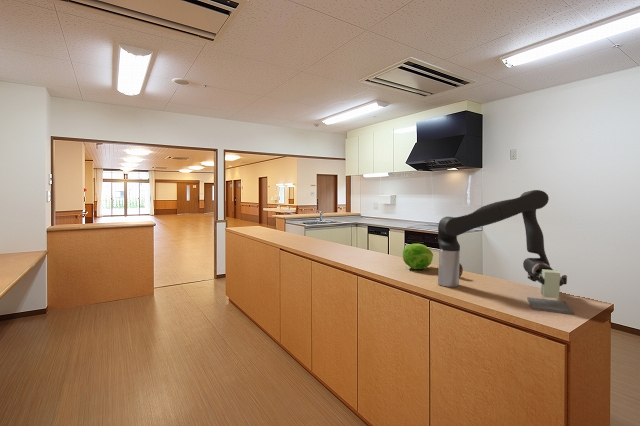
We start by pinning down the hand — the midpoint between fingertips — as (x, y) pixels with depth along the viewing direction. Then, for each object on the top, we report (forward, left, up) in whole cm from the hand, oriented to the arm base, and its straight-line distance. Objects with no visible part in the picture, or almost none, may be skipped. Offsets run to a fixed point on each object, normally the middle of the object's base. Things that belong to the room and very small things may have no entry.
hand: (552, 282), depth 126 cm
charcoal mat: (0, +3, -10) cm, 10 cm away
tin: (-38, +39, -10) cm, 55 cm away
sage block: (0, +3, -6) cm, 7 cm away
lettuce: (-57, +49, -10) cm, 75 cm away
